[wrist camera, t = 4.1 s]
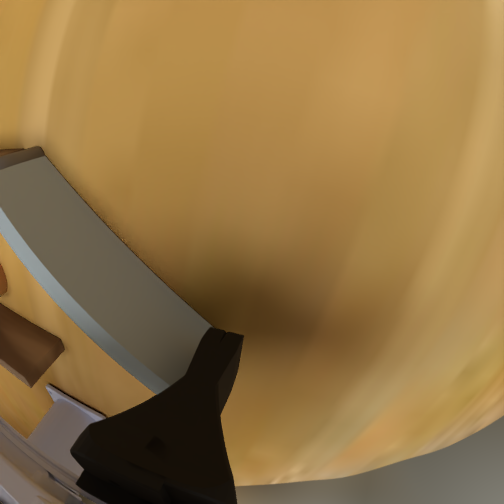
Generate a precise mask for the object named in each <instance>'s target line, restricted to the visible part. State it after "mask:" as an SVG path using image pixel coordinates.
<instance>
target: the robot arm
mask: <svg viewBox="0 0 504 504" xmlns="http://www.w3.org/2000/svg"><path fill="white" fill-rule="evenodd" d="M243 338H244V336H243V335H239V334H236V333H232V332H227V333H226V332H225V331H224V330H220V329H216V328H213V327H209V329H208V330H207V331H206V333H205V334H204V335H203V337H202V338H201V340H200V343H199V345H198V347H197V349H196V351H195V354H194V356H193V358H192V361H191V363H190V365H189V367H188V370H187V372H186V374H185V375H184V376H183V377H182V378H180V379H179V380H178V381H176V382H175V383H174V384H172V385H171V386H169V387H168V388H166V389H165V390H163V391H162V392H160V393H159V394H157V395H155V396H154V397H152V398H150V399H149V400H147V401H145V402H143V403H141V404H139V405H137V406H135V407H133V408H131V409H128V410H126V411H124V412H122V413H119V414H117V415H114V416H112V417H109V418H105V417H104V416H103V415H102V414H100V413H98V412H96V411H94V410H92V409H90V408H88V407H86V406H85V405H83V404H81V403H79V402H77V401H76V400H74V399H72V398H70V397H69V396H67V395H65V394H64V393H62V392H60V391H59V390H57V389H55V388H54V387H52V386H51V385H49V384H47V385H46V389H47V390H48V392H49V394H50V396H51V397H52V399H53V401H54V402H55V403H54V404H53V405H52V407H51V408H50V409H49V411H48V412H47V413H46V415H45V416H44V417H43V419H42V420H41V421H40V423H39V424H38V425H37V427H36V428H35V429H34V431H33V432H32V433H31V435H30V436H29V438H28V439H26V438H25V437H23V436H22V435H21V434H20V433H19V432H17V431H16V430H15V429H14V428H13V427H12V426H10V425H9V424H8V423H7V422H6V421H5V420H4V419H3V418H2V417H1V416H0V501H1V502H2V503H3V504H85V503H83V502H82V501H81V500H82V499H81V498H80V497H78V496H77V495H79V494H81V495H82V496H84V497H86V498H88V499H89V500H91V501H93V502H95V503H96V504H237V499H236V491H235V485H234V479H233V474H232V471H231V468H230V464H229V460H228V456H227V452H226V447H225V442H224V437H223V431H222V425H221V417H220V415H221V413H222V410H223V408H224V406H225V404H226V402H227V399H228V397H229V395H230V393H231V390H232V387H233V384H234V381H235V378H236V375H237V371H238V367H239V362H240V356H241V350H242V344H243ZM72 492H73V493H72ZM75 494H76V495H75ZM1 502H0V504H2V503H1Z"/></svg>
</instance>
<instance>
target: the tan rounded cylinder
mask: <svg viewBox="0 0 504 504" xmlns="http://www.w3.org/2000/svg"><path fill="white" fill-rule="evenodd" d="M6 291H7V280H6V276H5V273H4V271H3V268H2V266H1V264H0V297H1V296H2V295H3V294H4V293H6Z"/></svg>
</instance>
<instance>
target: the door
mask: <svg viewBox="0 0 504 504" xmlns="http://www.w3.org/2000/svg"><path fill="white" fill-rule="evenodd" d="M0 232H1V234H2V235H3V237H4V238H5V240H6V241H7V243H8V244H9V245H10V247H11V248H12V250H13V251H14V252H15V254H16V255H17V256H18V258H19V259H20V260H21V262H22V263H23V264H24V265H25V267H26V268H27V269H28V271H29V272H30V273H31V274H32V276H33V277H34V278H35V279H36V280H37V282H38V283H39V284H40V285H41V286H42V288H43V289H44V290H45V291H46V292H47V293H48V294H49V296H50V297H51V298H52V299H53V300H54V301H55V302H56V303H57V305H58V306H59V307H60V308H61V309H62V310H63V311H64V312H65V313H66V314H67V315H68V316H69V317H70V318H71V319H72V320H73V321H74V323H75V324H76V325H77V326H78V327H79V328H80V329H81V330H82V331H83V332H84V333H86V334H87V335H88V336H89V337H90V338H91V339H92V340H93V341H94V342H95V343H96V344H97V345H98V346H99V347H100V348H101V349H102V350H104V351H105V352H106V353H107V354H108V355H109V356H110V357H111V358H112V359H114V360H115V361H116V362H117V363H118V364H119V365H121V366H122V367H123V368H124V369H125V370H126V371H128V372H129V373H130V374H131V375H132V376H134V377H135V378H136V379H137V380H139V381H140V382H141V383H142V384H144V385H145V386H146V387H148V388H149V389H150V390H151V391H153V392H154V393H155V394H159V393H160V392H162V391H163V390H165V389H166V388H168V387H169V386H171V385H172V384H174V383H175V382H176V381H178V380H179V379H180V378H182V377H183V376H184V375H185V374H186V372H187V370H188V367H189V365H190V363H191V361H192V358H193V356H194V354H195V351H196V349H197V347H198V345H199V343H200V340H201V338H202V337H203V335H204V334H205V333H206V331H207V330H208V329H209V327H213V326H212V325H210V324H209V323H208V322H207V321H206V320H205V319H203V318H202V317H201V316H200V315H199V314H198V313H197V312H195V311H194V310H193V309H192V308H191V307H190V306H189V305H188V304H187V303H185V302H184V301H183V300H182V299H181V298H180V297H179V296H178V295H177V294H176V293H174V292H173V291H172V290H171V289H170V288H169V287H168V286H167V285H166V284H165V283H164V282H163V281H162V280H161V279H159V278H158V277H157V276H156V275H155V274H154V273H153V272H152V271H151V270H150V269H149V268H148V267H147V266H146V265H145V264H144V263H143V262H142V261H141V260H140V259H139V258H138V257H137V256H136V255H135V254H134V253H133V252H132V251H131V250H130V249H129V248H128V247H127V246H126V245H125V244H124V243H123V242H122V241H121V240H120V239H119V238H118V237H117V236H116V235H115V234H114V233H113V232H112V231H111V230H110V229H109V228H108V227H107V226H106V224H105V223H104V222H103V221H102V220H101V219H100V218H99V217H98V216H97V215H96V214H95V213H94V212H93V210H92V209H91V208H90V207H89V206H88V205H87V204H86V203H85V202H84V201H83V199H82V198H81V197H80V196H79V195H78V194H77V193H76V192H75V190H74V189H73V188H72V187H71V186H70V185H69V184H68V182H67V181H66V180H65V179H64V178H63V176H62V175H61V174H60V173H59V172H58V171H57V169H56V168H55V167H54V166H53V165H52V163H51V162H50V161H49V160H48V158H47V157H46V156H44V152H43V150H42V149H41V148H40V147H38V146H36V147H32V148H28V149H25V150H21V151H18V152H14V153H11V154H7V155H4V156H1V157H0ZM213 328H214V327H213Z"/></svg>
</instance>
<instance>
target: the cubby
mask: <svg viewBox="0 0 504 504" xmlns="http://www.w3.org/2000/svg"><path fill="white" fill-rule="evenodd" d="M21 150H24V149H5V150H0V157H1V156H4V155H7V154H11V153H14V152H18V151H21ZM63 351H64V348H63V345H62V342H61V340H60V339H59V338H57V337H55V336H54V335H52V334H50V333H48V332H46V331H45V330H43V329H41V328H39V327H37V326H36V325H34V324H32V323H31V322H29V321H27V320H26V319H24V318H22V317H21V316H19V315H17V314H16V313H14V312H13V311H11V310H10V309H8V308H6V307H5V306H3V305H2V304H0V364H1V365H2V366H3V367H4V368H6V369H7V370H8V371H9V372H11V373H12V374H13V375H14V376H16V377H17V378H18V379H20V380H21V381H22V382H24V383H25V384H26V385H28V386H29V387H30V388H32V387H33V385H34V384H35V383H36V382H37V381H38V379H39V378H40V377H41V376H42V375H43V374H44V373H45V371H46V370H47V369H48V368H49V367H50V366H51V365H52V363H53V362H54V361H55V360H56V359H57V358H58V357H59V356H60V354H61V353H62V352H63Z"/></svg>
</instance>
